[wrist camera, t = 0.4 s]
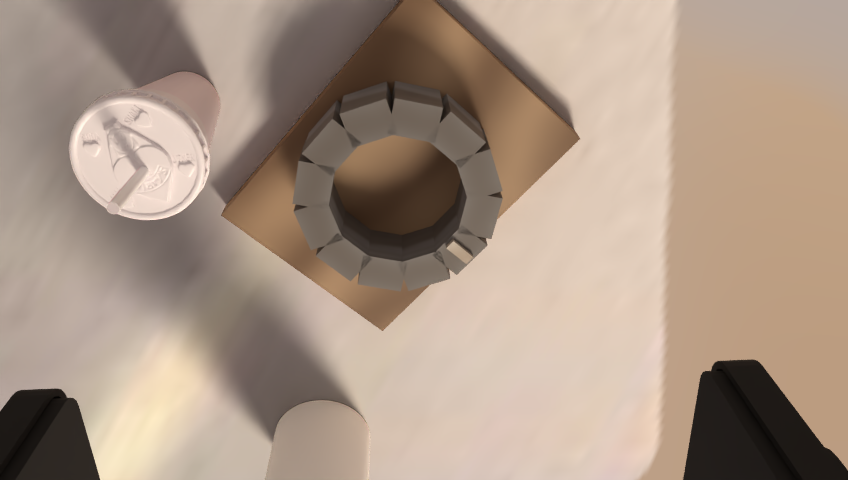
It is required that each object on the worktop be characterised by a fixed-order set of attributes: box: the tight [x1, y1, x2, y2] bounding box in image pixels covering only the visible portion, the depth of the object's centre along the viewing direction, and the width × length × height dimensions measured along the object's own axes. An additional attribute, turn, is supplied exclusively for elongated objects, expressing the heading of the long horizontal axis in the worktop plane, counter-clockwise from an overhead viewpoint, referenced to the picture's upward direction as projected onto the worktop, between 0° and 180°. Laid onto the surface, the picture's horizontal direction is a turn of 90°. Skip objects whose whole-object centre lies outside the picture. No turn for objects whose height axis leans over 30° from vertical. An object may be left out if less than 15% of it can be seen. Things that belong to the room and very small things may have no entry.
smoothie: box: [69, 71, 220, 220], centre depth 37 cm, size 6×6×14 cm
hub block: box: [221, 0, 580, 331], centre depth 43 cm, size 13×18×5 cm
